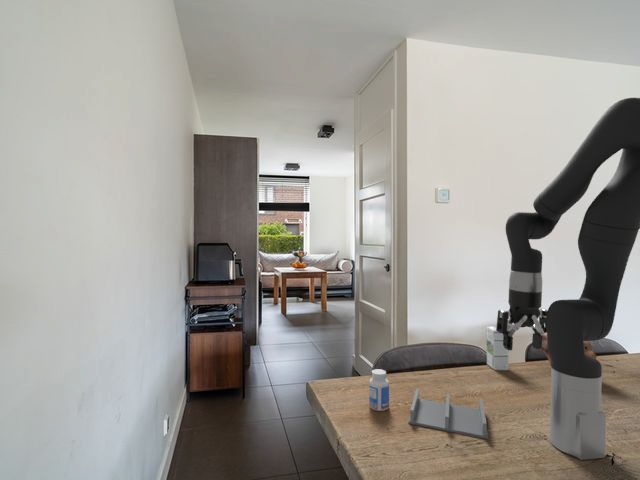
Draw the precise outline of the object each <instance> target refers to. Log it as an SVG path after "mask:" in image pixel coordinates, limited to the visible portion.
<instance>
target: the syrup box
mask: <svg viewBox="0 0 640 480" xmlns="http://www.w3.org/2000/svg"><path fill="white" fill-rule="evenodd" d="M496 328H497V325H491V326H486V365H487V366H488V367H489V368H490V369H492V370H494V371H509V370H510V368H509V365H510V364H509V361H510V359H509V357H510V355H509V351H510V350H507V349H505V348H504V346H503V334H502V333H499V332H497V331H496Z"/></svg>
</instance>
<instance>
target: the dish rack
mask: <svg viewBox="0 0 640 480" xmlns="http://www.w3.org/2000/svg"><path fill="white" fill-rule="evenodd" d="M450 399H451V393H446V399H445V400H446V401H445V402H440V401H435V400H428V399H423V398H420V388H415V392H414V396H413V400H412V402H411V406H410V410H409V413H410V414H409V418H408V424H409V425H415V426H420V427H424V428H425V427H426V428H430V429H434V430H439V431H445V432H451V433H455V434H459V435H464V436H470V437H474V438H480V439H484V440H485V439H486V440H489V433H488V428H487V419H486V412H485V405H484V400H483V398H479V400H478V408H474V407H469V406H464V405H459V404H452V403H450V402H451V400H450Z"/></svg>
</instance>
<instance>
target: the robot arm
mask: <svg viewBox="0 0 640 480" xmlns="http://www.w3.org/2000/svg"><path fill="white" fill-rule="evenodd" d="M621 150H622V153H621V154H620V155H621V156H620V159H619V162H618V166H617V167H616V170H615V172H614V174H613V176H612V177H611V179H610V180H609V182H608V183H606V185H605V186H604V188H603V189H601V191H600V192H599V193H598V195H597V196H596V197H595V198H594V199H593V200H592V202H591V203H590V204H589V206H588V207H587V209H586V211H585V212H584V213H585V214H584V215H583V218H582V223H581V227H580V230H579V233H578V238H577V247H578V252H579V255H580V258H581V261H582V263H583V266H584V270H585V281H584V286H583V289H582V293H581V295H580V297H579V298H578V299H577V298H576V299H558V300H555V301H553V302H551V304H550V305H549V307H548V309H545V308H541V307H542V301H543V299H542V297H543V295H542V294H543V274H542V273H543V271H542V269H543V254H542V251H541V250H538V249H537V248H533V247H531V242H530V240H541V239H544V238H546V237H547V236H549V235H550V234H552V232H553V231H554V229H555V228H556V226H557V225H558V223H559V221H560V219H561V217H562V216H563V215H564V214H565V213H566V212H568V211H569V210H570V209H571V208H572V207H574V205H575V204H577V202H579V201H580V200H581V199H582V198H583V197H584V195H585V194H586V193H587V191H588V189H589V187H590V185H591V183H592V179H593V177H594V175H595V174H596V172H597V171H598V169H599V168H600V167H601V166H602V165H603V164H604V163H605V162H606V161H607V160H609V159H610V158H611V157H612V156H614V155H615V154H617V153H618V152H619V151H621ZM532 206H533V209H534V210H535V212H523V211H521V212H520V211H518V212H514V213H512V214H510V216H509V217H508V218H507V220H506V223H505V235H506V238H507V242H508V247H509V251H510V253H511V254H510V255H511V260H510V262H511V263H510V274H509V280H508V281H509V283H508V304H509V309H508V310H502V309H499V310H498V311H497V317H496V318H497V319H496V326H497V328H496V331H497V332H499V333H502V334H503V346H504V348H505V349H507V350H509V351H513V346H514V345H513V344H514V343H513V341H514V337H513V335H514V334H515V333H516V332H517V331H518V330H519V329H520V328H526V327H527V328H530V329H531V330H532V331H533V333H532V342H531V343H532V344H531V346H532V347H533V349H536V350H542V349H541V347H542V346H543V340H542V336H543V335H544V334H546V335H547V346H548V353H549V356H550V359H551V365H550V367H551V368H550V413H549V414H550V417H549V418H550V421H549V422H550V429H549V430H550V431H549V439H550V443H551V444H552V446H554V447H555V448H556V449H558V450H559V451H561V452H563V453H566V454H568V455H570V456H572V457H575V458H577V459H578V460H580V461H582V460H583V461H585V460H595V459H604V458H606V419H607V416H606V413H605V412H602V383H603V382H602V381H603V380H602V375H603V374H602V373H603V368H602V367H603V366H602V363H601V362H600V361H599V360H598V359H597V358H596V359H594V358H592V357H589V356H587V355H585V352H584V341H589V342H594V341H595V342H596V341H600V340H604V338H606V337H607V336H608V335H609V334H610V332H611V330H612V327H613V324H614V320H615V316H616V310H617V305H618V299H619V293H620V290H621V286H622V282H623V278H624V275H625V272H626V268H627V265H628V262H629V259H630V255H631V253H632V251H633V248H634V245H635V242H636V239H637V236H638V233H639V231H640V97H628V98H623V99H620V100H618V101H617V102H615V103H613V104H612V105H611V106H610V107H608V108H607V110H605V112H604V113H603V114H602V115H601V116H600V118H599V119H598V120H597V121H596V123H595V124H594V126H593V127H592V128H591V130H590V132H589V133H588V134H587V135H586V137H585V139H584V140H583V141H582V142H581V144H580V145H579V147H578V148H577V150H576V151H575V152H574V154H573V155H572V157H571V158H570V159H569V161H568V162H567V164H565V166H564V168H562V169H561V171H560V172H559V174H557V175H556V177H555V178H554V179H553V180H552V181H551V182H550V183H548V185H547V186H546V187H545V188H544V189H543V190H542V191H541V192H540V193H539V194H538V195H537V196H536V197H535V199H534V201H533V205H532Z"/></svg>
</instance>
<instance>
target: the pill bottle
mask: <svg viewBox="0 0 640 480" xmlns="http://www.w3.org/2000/svg"><path fill="white" fill-rule="evenodd" d="M368 383H369V385H368V388H369V390H368V391H369V392H368V393H369V408H370V409H372V410H374V411H377V412H383V411H387V410H388V409H389V407H390V381H389V380H388V379H387V371H386V370H384V369H380V368H379V369H378V368H375V369H372V370H371V378H370V379H369V382H368Z"/></svg>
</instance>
